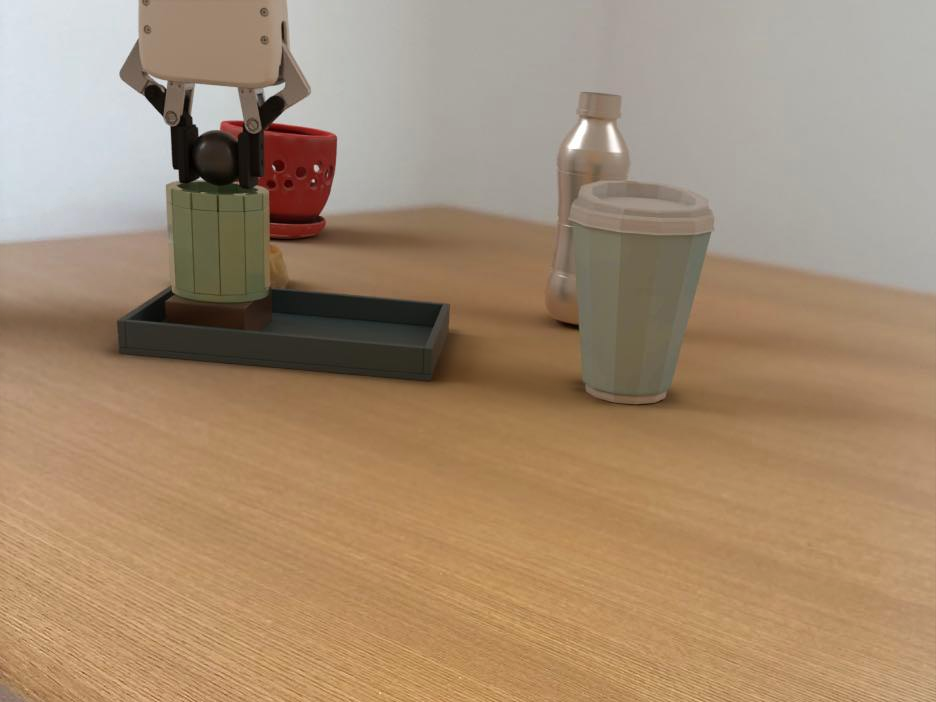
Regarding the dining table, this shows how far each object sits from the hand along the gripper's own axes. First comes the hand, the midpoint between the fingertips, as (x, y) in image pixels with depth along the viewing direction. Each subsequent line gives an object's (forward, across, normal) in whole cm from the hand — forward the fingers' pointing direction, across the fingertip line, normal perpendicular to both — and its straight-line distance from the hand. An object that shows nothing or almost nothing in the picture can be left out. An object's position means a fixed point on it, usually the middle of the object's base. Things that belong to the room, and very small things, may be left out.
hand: (219, 181), depth 86 cm
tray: (+12, -6, 0) cm, 13 cm away
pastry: (+12, +3, -18) cm, 22 cm away
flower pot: (+12, +6, -47) cm, 49 cm away
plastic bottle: (+12, -29, -15) cm, 35 cm away
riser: (+12, 0, 0) cm, 12 cm away
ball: (-2, 0, 0) cm, 2 cm away
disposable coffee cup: (+12, -32, +6) cm, 35 cm away
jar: (+8, 0, 0) cm, 8 cm away
